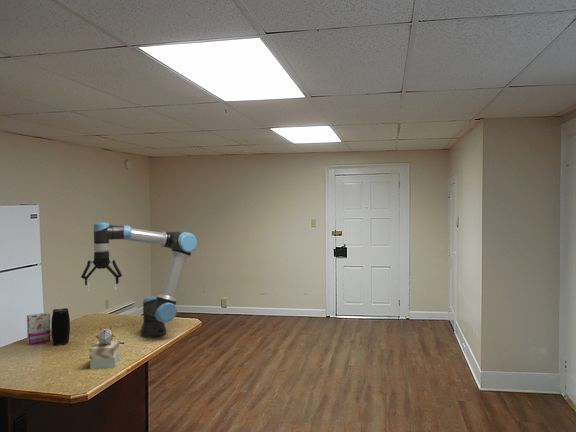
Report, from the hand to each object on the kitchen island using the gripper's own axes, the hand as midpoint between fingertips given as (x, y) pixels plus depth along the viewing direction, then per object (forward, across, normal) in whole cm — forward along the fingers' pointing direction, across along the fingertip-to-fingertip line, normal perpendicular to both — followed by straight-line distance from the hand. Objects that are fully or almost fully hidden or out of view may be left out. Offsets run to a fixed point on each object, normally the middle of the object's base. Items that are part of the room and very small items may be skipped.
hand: (102, 290), depth 240 cm
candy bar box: (+33, +39, -25) cm, 57 cm away
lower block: (+33, -5, +22) cm, 40 cm away
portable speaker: (+33, +26, -20) cm, 46 cm away
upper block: (+28, -5, +22) cm, 36 cm away
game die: (+23, -5, +22) cm, 32 cm away
